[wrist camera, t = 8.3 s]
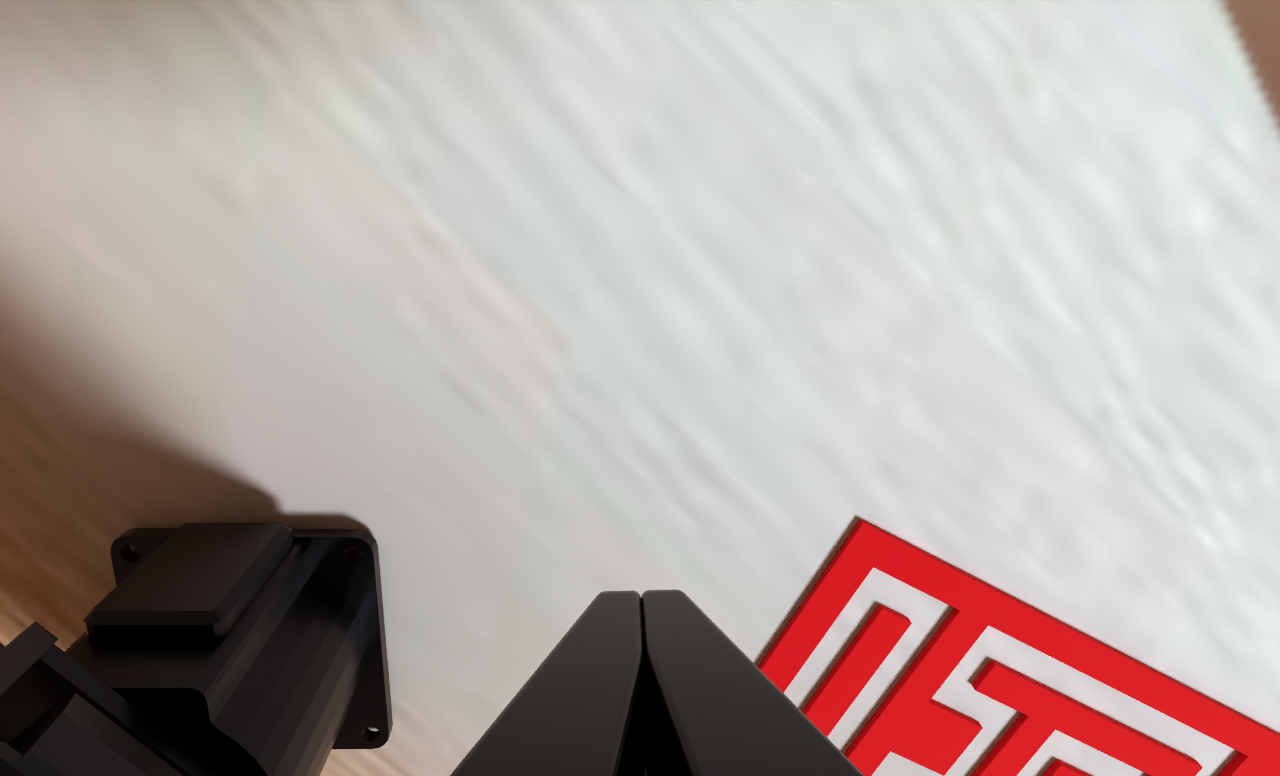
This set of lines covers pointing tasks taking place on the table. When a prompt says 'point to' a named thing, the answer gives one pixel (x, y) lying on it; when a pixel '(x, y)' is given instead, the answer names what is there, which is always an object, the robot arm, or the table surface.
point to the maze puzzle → (988, 677)
